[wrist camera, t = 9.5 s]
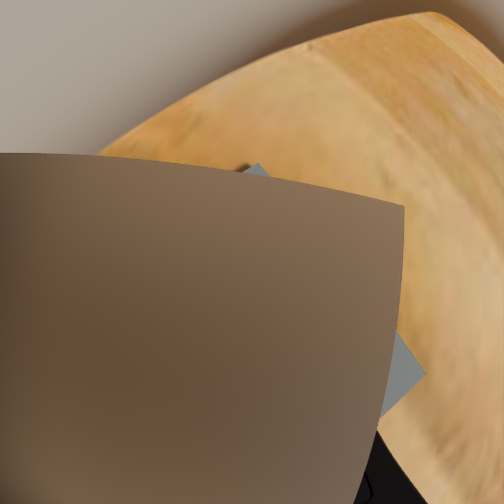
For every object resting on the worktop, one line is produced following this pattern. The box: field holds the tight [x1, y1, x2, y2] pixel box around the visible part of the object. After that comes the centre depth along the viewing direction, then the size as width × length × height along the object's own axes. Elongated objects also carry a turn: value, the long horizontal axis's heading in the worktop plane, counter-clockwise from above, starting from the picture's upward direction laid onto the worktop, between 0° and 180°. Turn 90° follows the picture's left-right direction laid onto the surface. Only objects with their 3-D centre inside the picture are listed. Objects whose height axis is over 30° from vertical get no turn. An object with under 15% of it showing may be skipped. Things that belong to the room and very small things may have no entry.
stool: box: [0, 153, 404, 504], centre depth 8 cm, size 5×5×13 cm
